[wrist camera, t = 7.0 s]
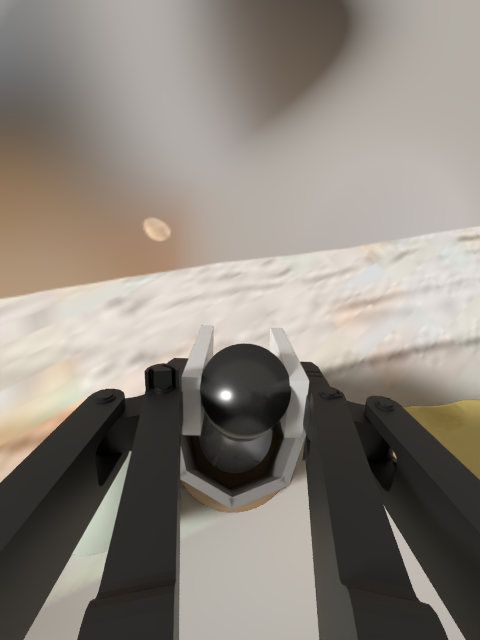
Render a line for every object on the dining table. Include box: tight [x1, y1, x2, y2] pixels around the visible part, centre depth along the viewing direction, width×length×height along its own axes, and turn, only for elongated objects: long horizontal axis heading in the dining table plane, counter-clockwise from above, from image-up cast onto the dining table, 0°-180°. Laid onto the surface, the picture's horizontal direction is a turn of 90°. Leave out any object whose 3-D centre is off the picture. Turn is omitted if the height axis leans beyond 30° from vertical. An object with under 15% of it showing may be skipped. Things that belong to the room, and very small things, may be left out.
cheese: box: [393, 399, 480, 480], centre depth 25 cm, size 10×11×10 cm
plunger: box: [199, 344, 291, 473], centre depth 18 cm, size 6×6×16 cm
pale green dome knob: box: [72, 451, 131, 556], centre depth 24 cm, size 8×10×9 cm
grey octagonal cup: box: [180, 420, 306, 512], centre depth 25 cm, size 13×13×11 cm
